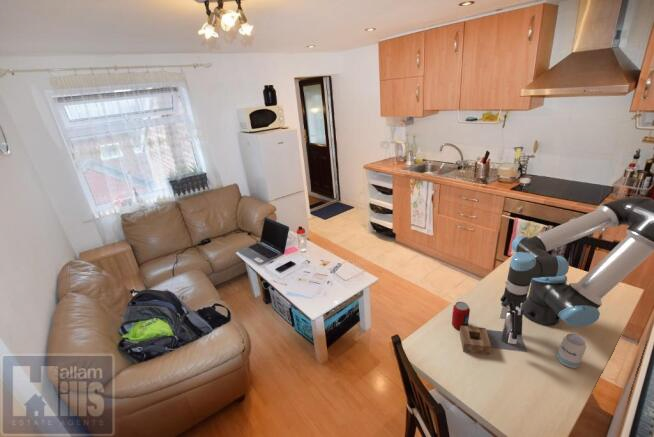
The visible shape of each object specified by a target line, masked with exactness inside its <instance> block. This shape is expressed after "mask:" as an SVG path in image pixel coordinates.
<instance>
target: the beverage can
mask: <svg viewBox="0 0 654 437" xmlns="http://www.w3.org/2000/svg"><path fill="white" fill-rule="evenodd" d="M470 310H471V309H470V307H469V304H467V303H466V302H464V301H457V302H456V303H455V304H454V305H453V308H452V316H451V325H452V327H453V328H455V329H456V330H459V331H460V326H469V320H470V314H471V313H470V312H471V311H470Z"/></svg>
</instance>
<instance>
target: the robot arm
mask: <svg viewBox="0 0 654 437" xmlns="http://www.w3.org/2000/svg"><path fill="white" fill-rule="evenodd" d="M620 226H628V227H627V228H626V236H625V237H624V238H623V239H622V240H620V242H618V244H616V246H614V248H613V249H612V250H610V251H609V252H608V253H607V254H606V255H605V256H604V257H603V258H602V259H601V260H600V261H599V262H598V263H597V264H596V265H595V266H594V267H592V269H590V271H588V272H587V273H586V274H585V275H584V276H583V277H582V278H581V279H580V280H579V281H578V282H571V283H569V284H567V282H568V277H567V274H568V272H569V269H570V266H569V262H568V260H567V259H566V258H565V257H564V256H561V255H551V254H549V253H548V252H549V251H553V250H554V249H557V248H559V247H562V246H564V245H567V244H570V243H572V242H574V241H576V240H579V239H582V238H584V237H586V236H589V235H591V234H595V233H597V232H599V231H602V230H604V229H606V228H617V227H620ZM511 248H512V250H513V251H514V252H515V253H513V254H512V256H511V258H510V259H511V260H510V262H509V269H508V274H507V278H506V279H507V280H506V281H504V282H505V288H504V291H503V292H504V293H503V295H502V296H501V297H500V300H499V301H500V302H501V306H500V310H499V311H500V312H499V316H498V317H499V319H501V320H505V318H506V313H507V311H510V314H511V323H512V330H510V335H509V339H508V343H512V344H516V342H517V338H518V335H520V336H521V337H522V336H523V317H525V318H526V319H527V320H529V321H531V322H532V323H535V324H537V325H541V326H546V327H552V326H556V325H558V324H559V323H560V321H561V320H562V321H563V322H564V323H565V324H566V325H568V326H570V327H572V328H583V327H587V326H591V325H592V324H595V322H597V321H598V320H599V319H600V316H601V313H600V310H599V308H600V307H601V306H602V305H603V304H602V299H603V298H604V297H605V296H606V295H607V294H608V293H609V292H611V291H612V290H613V289H614V288H615V287H616V286H617V285H618V284H620V282H622V281H623V280H624V279H625V278H626V277H627V276H629V275H630V274H631V273H632V272H633V271H634V270H635V269H636V268H637V267H639V266H640V265H641V264H642V263H643V262H644V261H646V259H648V258H649V257H650V256H651V255H652V254H653V253H654V199H653V198H650V197H646V196H630V197H624V198H619V199H614V200H611V201H609V202H605V203H603V204H600V205H598V206H597V207H596V209H595V210H593V211H590V212H589V213H586V214H583V215H581V216H579V217H576V218H574V219H572V220H569V221H567V222H564V223H562V224H560V225H556V226H554V227H552V228H549V229H548V230H545V231H543V232H540V233H538V234H536V235H534V236H531V237H528V236H525V235H519V236H517V237H515V238H514V239H513V241H512V242H511ZM512 311H513V312H512Z"/></svg>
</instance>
